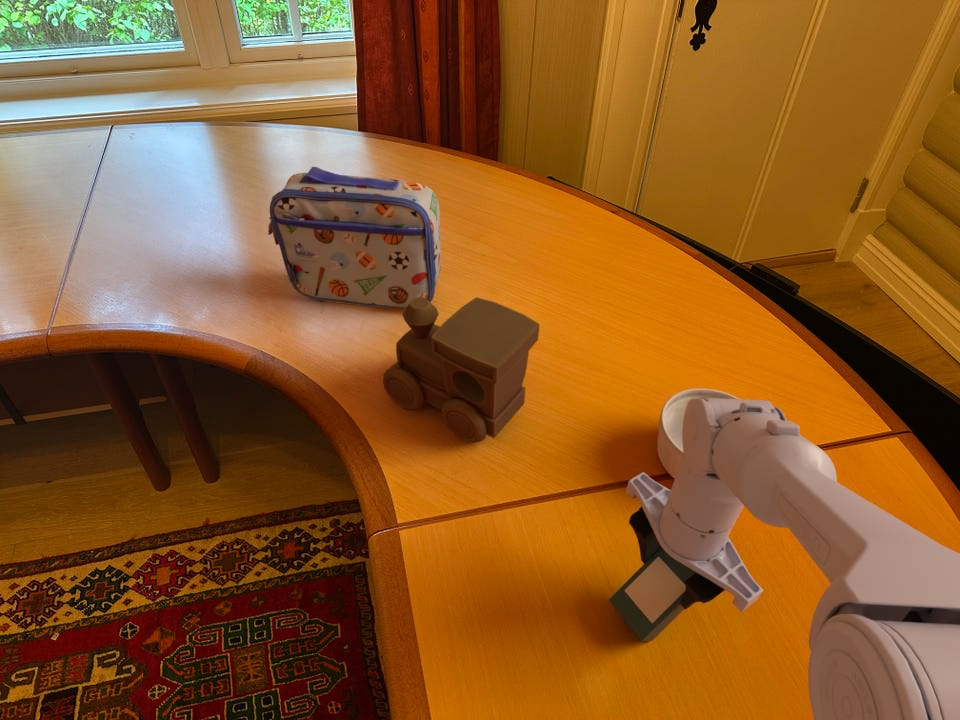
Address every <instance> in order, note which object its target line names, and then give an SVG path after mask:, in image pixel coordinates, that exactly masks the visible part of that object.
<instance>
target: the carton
mask: <svg viewBox="0 0 960 720" xmlns="http://www.w3.org/2000/svg"><path fill="white" fill-rule="evenodd" d="M695 573H697V572H695V571H693V570H692V569H690V568H688V567H687V566H685V565H684V564H682V563H680V562H679V561H677V560H675V559H674V558H672V557H671V556H670V555H669V554H667V553H666V552H665V550H664V549H663V548H662V547H661V548H660V549H659V550H658V551H657V552H656V553H655V554H654V555H653V556H652V557H651V558H650V559H649V560H648V561H647V562H646V563H645V564H644V563H643V565H642V566H640V568H639V569H638V570H636V571H635V572H634V574H632V576H630V578H629V579H627V581H625V583H624V584H622V586H620V588H618V589H617V590H616V591H615V592H614V593H613V594H612V596H610V597H609V599H608V602H609V603H610V604H611V605H612V607H613V608H614V609H615V610H616V612H617V613H618V614H619V616H620V617H621V618H622V619H623V620H624V622H625V623H626V624H627V625H628V626H629V628H630V629H631V630H632V631H633V633H634V634H635V635H636V636H637V638H639V640H640V642H653V641H654V640H655V639H656V638H657V637H658V635H660V634H661V633H662V632H663V631H664V630H665V629H666V628H667V627H669V625H670V624H671V623H673V621H674V620H675V619H676V618H677V617H678V616H679V615H681V613H682V612H683V611H684V610H685V609H684V608H683V607H682V606H681V603H680V601H681V599H682V597H683V596H684V594H685V590H686V585H685V583H684V582H685V580H687V579H688V578H690V577H691V576H692V575H694V574H695Z"/></svg>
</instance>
